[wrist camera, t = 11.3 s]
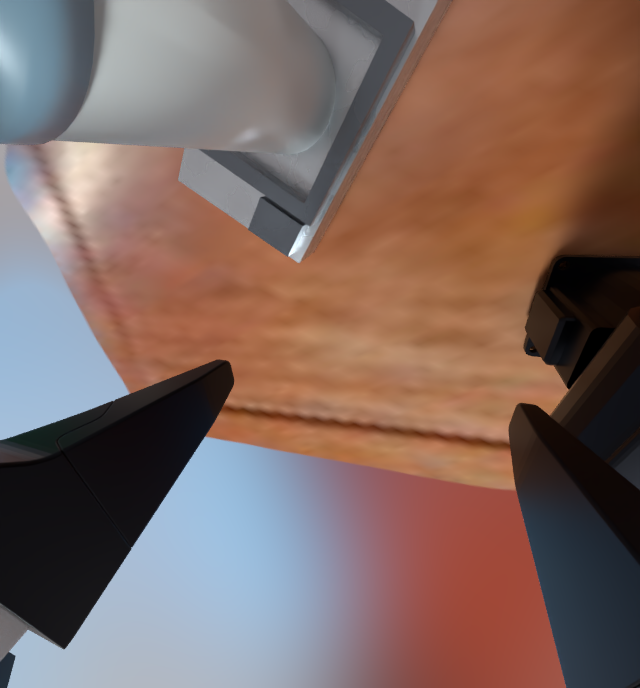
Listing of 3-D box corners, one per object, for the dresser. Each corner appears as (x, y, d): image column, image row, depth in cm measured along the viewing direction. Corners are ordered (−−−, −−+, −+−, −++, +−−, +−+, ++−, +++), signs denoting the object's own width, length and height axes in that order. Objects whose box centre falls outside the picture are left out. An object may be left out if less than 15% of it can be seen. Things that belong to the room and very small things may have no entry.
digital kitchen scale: (462, -19, 13) (474, -84, 10) (314, 251, 21) (291, 269, 18) (291, -146, 13) (240, -259, 9) (207, 178, 21) (163, 181, 17)
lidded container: (359, 59, 13) (-8, -460, 2) (306, 177, 16) (41, 207, 5) (260, -12, 13) (-681, -970, 2) (225, 120, 16) (-225, 28, 5)
